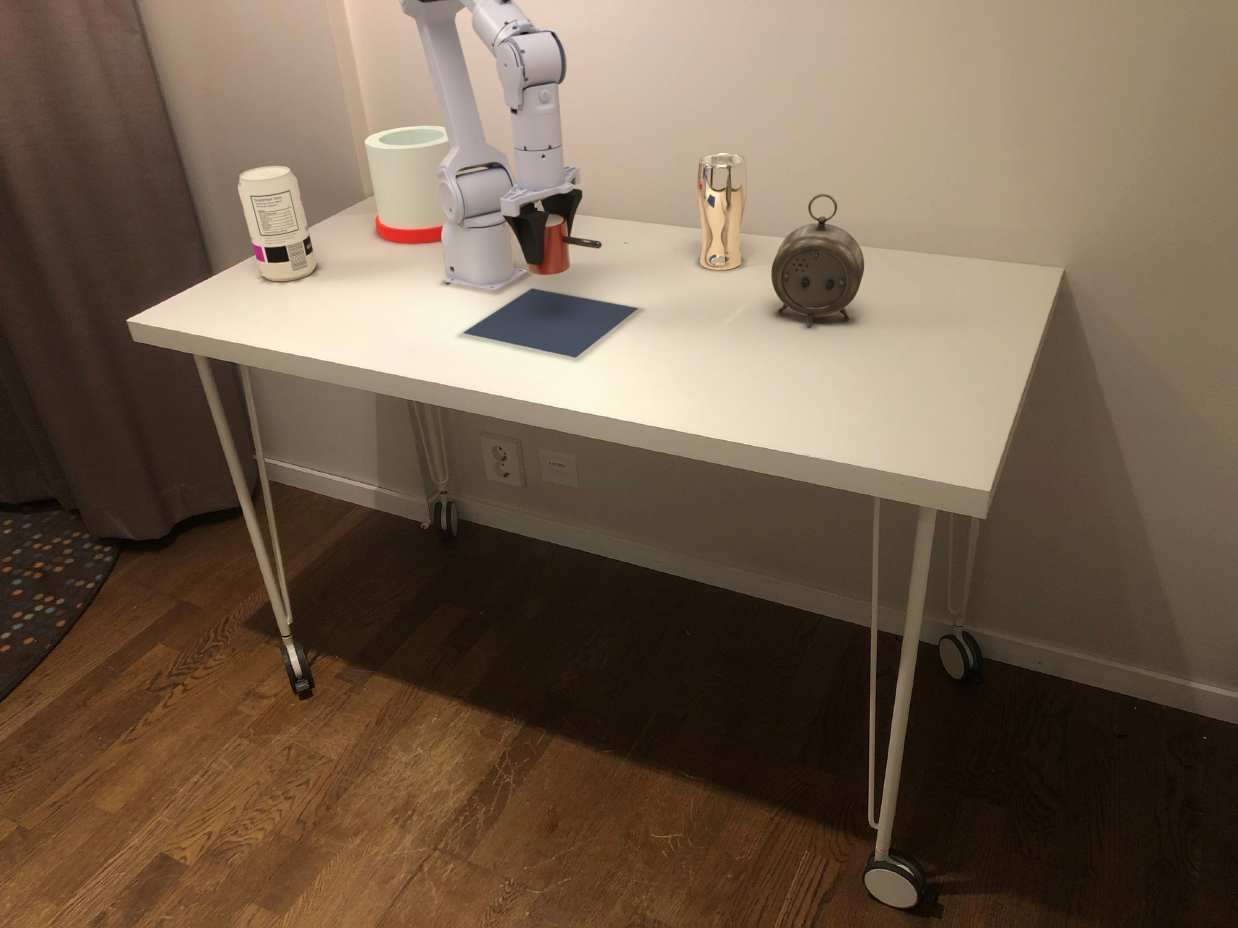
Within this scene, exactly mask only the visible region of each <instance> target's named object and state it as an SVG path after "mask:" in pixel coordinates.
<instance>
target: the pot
mask: <svg viewBox="0 0 1238 928" xmlns="http://www.w3.org/2000/svg"><path fill="white" fill-rule="evenodd" d="M568 244H569V245H568ZM570 245H573V246H577V247H578V246H579V247H585V248H592V249H601V248H602V247H603V244H602V242H601V241H600V240H595V239H589V238H588V239H587V238H581V237H575V236H568V231H567V219H566V218H565V217H564V216H561V215H557V214H549V216H548V219H547V222H546V226H545V233H544V260H543V264H542V265H540V266H538V265H533V264H527V263H526V268H527V271H528V272H529V273H531V274H534V275H538V276H539V275H540V276H551V275H559V274H561V273H564V272H567V271H568V270H569V269H570V268H571V262H570V261H571V260H570V247H569V246H570Z"/></svg>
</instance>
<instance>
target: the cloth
mask: <svg viewBox="0 0 1238 928" xmlns="http://www.w3.org/2000/svg"><path fill="white" fill-rule="evenodd" d="M638 309H639V307H635V306H629V305H623V304H618V303H614V302H613V303H612V302H607V301H602V300H597V299H591V298H586V297H580V296H575V295H569V294H564V293H558V292H553V291H548V290H542V289H536V288H530V289H528V290H527V291H525V292H524V293H522V294H521V295H519V296H518V297H516V298H514V299H513V300H512V301H510V302H508V303H507V304H505V305H504V306H502V307H501V308H499V309H497V310H496V311H494V312H493V313H491V314H489V315H488V316H487V317H485V318H483V319H481V321H479V322H477V323H476V324H474V325H472V326H471V327H470V328H468V329H467V330H465V331H463V332H462V334H464V335H470V336H473V337H477V338H478V337H479V338H483V339H487V340H488V339H489V340H493V341H497V342H503V343H507V344H512V345H516V346H520V347H525V348H529V349H534V350H537V351H542V352H548V353H553V354H557V355H562V356H565V357H566V356H567V357H571V358H575V359H576V358H578V357H579V356H580V355H581V354H583V353H584V352H585V351H586V350H588V349H589V348H590V347H591V346H593V345H594V344H595V343H597V342H598V341H599V340H601V339H602V338H603V337H604V336H605V335H607V334H608V333H609V332H611V331H612V330H613V329H614V328H616V327H617V326H618V325H619V324H620V323H622V322H623V321H624V320H626V319H627V318H628V317H630V316H631V315H632V314H634V313H635V312H636V311H637V310H638Z"/></svg>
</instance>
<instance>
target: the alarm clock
mask: <svg viewBox="0 0 1238 928" xmlns="http://www.w3.org/2000/svg"><path fill="white" fill-rule="evenodd" d="M822 197H824V198H825V197H826V198H828V199H830V200H831V201H832V203H833V205H834V210H833V213H832V214H831V215H830V216H829V217H825V216H823V215H821V216H819V217H816V216H815V215H814V214H813V212H812V204H813V203H814V201H815V200H817V199H818V198H822ZM807 205H808V206H807V209H808V213H809V215H810V217H811V218H812V219H813V220H815V221H817V223H810V224H806V225H803V226H800V227H798V228H796V229H794V230H793V231H792V232H790V233H789V234H788V235H787V236H786V237H785V238H784V239H783V241H782V242H781V244H780V246H779V247H778V250H777V252H776V254H775V256H774V259H773V262H772V264H771V273H770V277H771V278H770V279H771V284H772V287H773V290H774V292H775V294H776V296H777V297H778V299H779V300H780V302H782V306H781V308H778V310H777V311H778V314H782V313H783V312H784V311H785V310H787V308H788V309H790V310H791V311H793V312H795V313H797V314H800V315H803V316H806V326H807V327H808V328H811V327H812V326H813V321H814V318H820V317H828V316H831V315H834V314H836V313H838V312H839V313H840V314H841V315H842V316H843V317H844V320H845V321H847V322H848V321H850V319H851V317H850V316H849V315H848V313H847V310H846V308H847V306H849V305H850V304H851V303H852V301H853V300H854V299H855V297H856V296H857V293H858V292H859V289H860V286H861V282H862V279H863V277H864V272H865V258H864V254H863V251H862V248H861V246H860V245H859V243H858V242H857V240H856V239H855V238H854V236H852V235H851V234H850V233H849V232H847V231H846V230H844V229H843V228H841V227H838V226H836V225H834V224H830V223H826V222H828V221H829V220H831V219H832V218H833V217H834V216H835V215H836V214H837V211H838V203H837V201H836V199H835V198H834V197H833V196H832V195H830V194H828V193H819V194H816V195H814V196H813V197H812V198H811V199H810V201H809V202H808V204H807Z"/></svg>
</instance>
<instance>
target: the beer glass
mask: <svg viewBox="0 0 1238 928" xmlns="http://www.w3.org/2000/svg"><path fill="white" fill-rule="evenodd" d="M747 177H748V175H747V158H746V157H745V156H744V155H743V154H739V153H733V152H716V153H708V154H704V155H702V156H701V157H699V158H698V167H697V178H696V179H697V180H696V202H697V209H698V216H699V220H700V227H701V233H702V235H701V236H702V245H701V251H700V257H699V264H700V266H701V267H703V268H705V269H709V270H714V271H727V270H732V269H735V268H738V267H739V266H740V265H741V264H742V254H741V249H740V247H741V246H740V234H741V228H742V222H743V218H744V214H745V209H746V201H747V193H748V192H747V191H748V190H747V189H748V178H747Z"/></svg>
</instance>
